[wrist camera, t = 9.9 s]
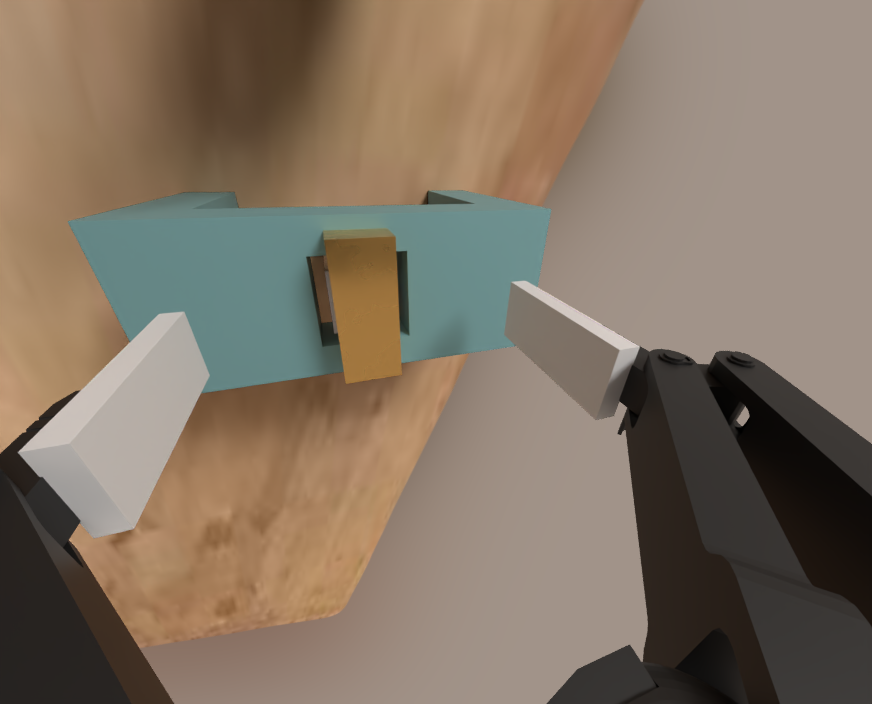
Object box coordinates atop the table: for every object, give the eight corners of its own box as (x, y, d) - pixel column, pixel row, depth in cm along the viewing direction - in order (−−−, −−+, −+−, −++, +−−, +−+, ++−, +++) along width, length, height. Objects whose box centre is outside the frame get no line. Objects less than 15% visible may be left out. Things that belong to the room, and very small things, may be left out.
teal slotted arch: (221, 304, 26) (159, 399, 16) (184, 192, 22) (67, 221, 12) (457, 283, 31) (527, 344, 21) (462, 190, 27) (551, 209, 17)
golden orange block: (330, 290, 27) (341, 384, 16) (317, 201, 24) (318, 240, 13) (369, 287, 28) (405, 374, 17) (361, 201, 25) (400, 236, 13)
